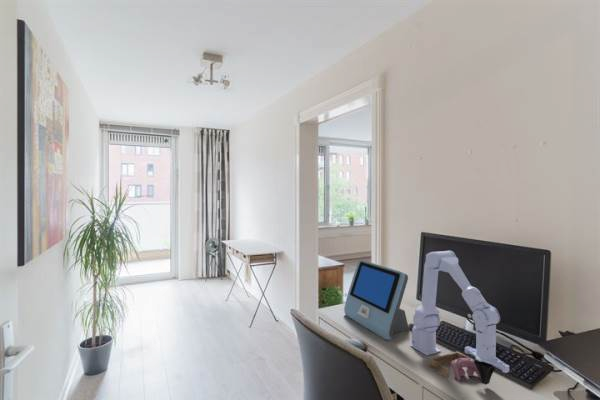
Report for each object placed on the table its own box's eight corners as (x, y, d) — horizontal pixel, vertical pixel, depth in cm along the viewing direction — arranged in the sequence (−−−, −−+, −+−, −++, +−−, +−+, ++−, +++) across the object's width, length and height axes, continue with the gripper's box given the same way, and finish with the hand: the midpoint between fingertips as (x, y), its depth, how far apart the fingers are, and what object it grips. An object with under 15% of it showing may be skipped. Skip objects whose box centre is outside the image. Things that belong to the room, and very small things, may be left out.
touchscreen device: (341, 315, 171) (343, 260, 171) (370, 311, 180) (371, 258, 180) (384, 342, 140) (386, 274, 140) (417, 335, 148) (419, 271, 148)
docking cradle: (430, 367, 120) (430, 359, 120) (457, 358, 126) (457, 351, 126) (446, 377, 113) (446, 368, 113) (474, 367, 119) (474, 360, 119)
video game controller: (478, 379, 115) (473, 357, 118) (485, 380, 111) (480, 357, 114) (452, 379, 114) (447, 358, 117) (458, 380, 110) (453, 358, 113)
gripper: (458, 336, 112) (458, 374, 112) (499, 355, 99) (498, 398, 99) (472, 333, 115) (472, 370, 115) (513, 350, 102) (513, 392, 102)
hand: (485, 382), depth 107 cm, fingers closed
